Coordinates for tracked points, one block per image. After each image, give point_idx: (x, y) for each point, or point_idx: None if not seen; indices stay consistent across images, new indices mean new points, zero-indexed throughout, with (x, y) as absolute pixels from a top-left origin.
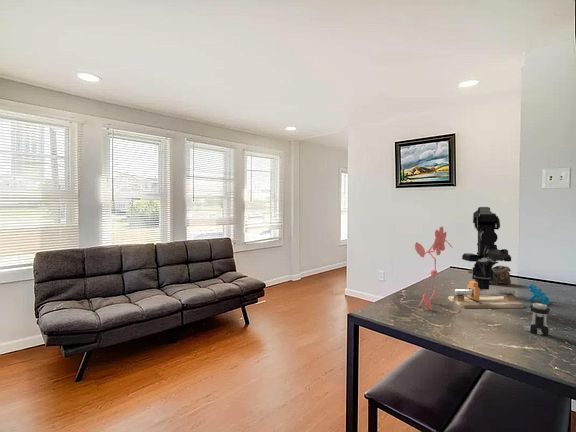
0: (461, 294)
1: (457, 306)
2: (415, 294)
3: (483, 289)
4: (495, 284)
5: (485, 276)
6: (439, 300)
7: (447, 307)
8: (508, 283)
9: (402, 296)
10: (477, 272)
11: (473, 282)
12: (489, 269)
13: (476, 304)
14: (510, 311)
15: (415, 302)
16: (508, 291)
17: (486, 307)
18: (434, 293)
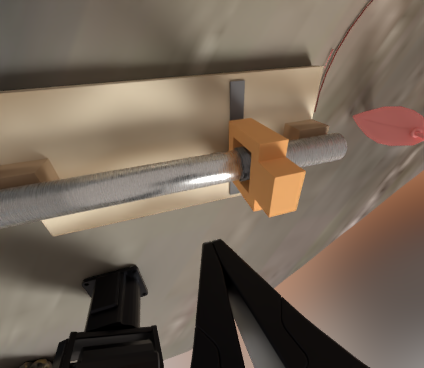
0: (313, 136)
1: (320, 88)
2: (345, 204)
3: (199, 181)
4: (31, 362)
5: (221, 241)
6: (384, 107)
7: (362, 74)
8: None
9: (390, 180)
10: (147, 362)
11: (300, 178)
12: (218, 325)
13: (265, 72)
14: (94, 3)
15: None
16: (22, 193)
17: (209, 74)
18: (411, 130)
